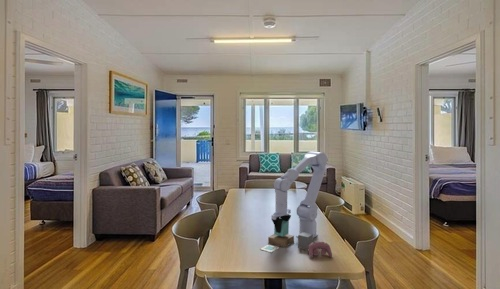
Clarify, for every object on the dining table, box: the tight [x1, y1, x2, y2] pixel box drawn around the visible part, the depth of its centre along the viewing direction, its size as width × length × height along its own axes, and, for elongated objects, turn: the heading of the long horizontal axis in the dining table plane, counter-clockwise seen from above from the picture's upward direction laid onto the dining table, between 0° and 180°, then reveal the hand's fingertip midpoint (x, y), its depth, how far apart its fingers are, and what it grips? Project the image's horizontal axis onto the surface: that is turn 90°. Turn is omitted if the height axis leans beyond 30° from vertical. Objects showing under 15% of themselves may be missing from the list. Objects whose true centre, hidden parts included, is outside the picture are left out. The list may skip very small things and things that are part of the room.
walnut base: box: [267, 233, 295, 248], centre depth 151 cm, size 9×9×3 cm
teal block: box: [273, 221, 290, 237], centre depth 150 cm, size 5×5×6 cm
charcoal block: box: [297, 232, 314, 251], centre depth 145 cm, size 5×5×6 cm
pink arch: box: [308, 241, 333, 259], centre depth 135 cm, size 10×5×7 cm, turn 93°
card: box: [259, 243, 280, 253], centre depth 143 cm, size 7×6×1 cm
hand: (281, 230), depth 150 cm, fingers closed on teal block, 5 cm apart
